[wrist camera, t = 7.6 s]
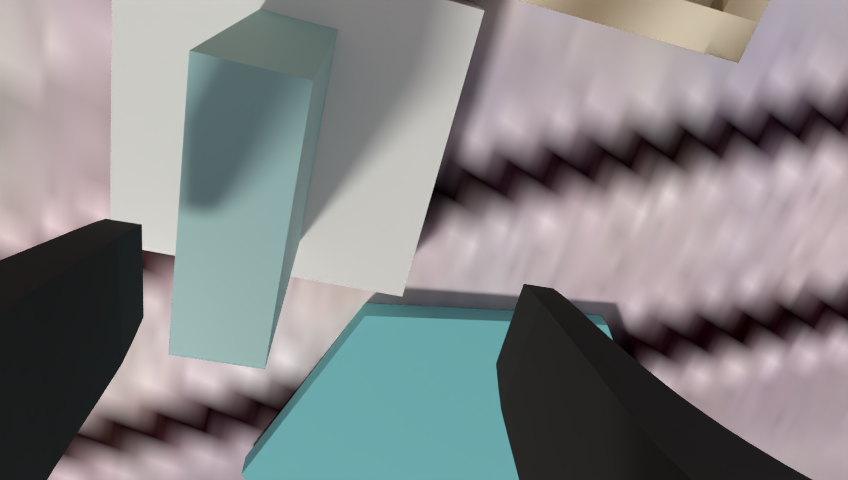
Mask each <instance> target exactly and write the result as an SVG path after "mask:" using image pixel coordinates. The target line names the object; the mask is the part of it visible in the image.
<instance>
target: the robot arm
mask: <svg viewBox="0 0 848 480" xmlns="http://www.w3.org/2000/svg"><path fill="white" fill-rule="evenodd" d="M142 319H143V262H142V224H136V223H129V222H123V221H116V220H110V219H104V220H101V221H97V222H94V223H92V224H89V225H86V226H84V227H81V228H79V229H76V230H73V231H71V232H69V233H66V234H64V235H61V236H59V237H56V238H54V239H52V240H49V241H47V242H44V243H42V244H39V245H37V246H35V247H32V248H30V249H27V250H25V251H22V252H20V253H17V254H15V255H12V256H10V257H8V258H5V259H3V260H0V480H47V479H48V477H49V476H50V474H51V472H52V471H53V469H54V467H55V466H56V464H57V463H58V461H59V460H60V458H61V457H62V455H63V454H64V452H65V451H66V449H67V448H68V446H69V445H70V443H71V441H72V440H73V438H74V437H75V435H76V434H77V432H78V431H79V429H80V428H81V426H82V425H83V423H84V422H85V420H86V419H87V417H88V415H89V414H90V412H91V411H92V409H93V408H94V406H95V405H96V403H97V402H98V400H99V399H100V397H101V396H102V394H103V392H104V391H105V389H106V388H107V386H108V385H109V383H110V382H111V380H112V378H113V377H114V375H115V374H116V372H117V371H118V369H119V367H120V366H121V364H122V362H123V360H124V358H125V356H126V354H127V352H128V350H129V348H130V346H131V344H132V342H133V339H134V337H135V335H136V333H137V330H138V328H139V326H140V324H141V321H142ZM496 369H497V380H498V390H499V397H500V405H501V411H502V415H503V419H504V423H505V427H506V431H507V435H508V439H509V443H510V447H511V451H512V455H513V458H514V462H515V466H516V470H517V474H518V477H519V480H812V479H810V478H808V477H806V476H805V475H803V474H801V473H799V472H797V471H796V470H794V469H792V468H790V467H788V466H787V465H785V464H783V463H781V462H780V461H778V460H777V459H775V458H773V457H772V456H770V455H768V454H767V453H765V452H763V451H762V450H760V449H758V448H757V447H755V446H753V445H752V444H750V443H748V442H747V441H745V440H743V439H742V438H740V437H739V436H737V435H736V434H734V433H733V432H731V431H729V430H728V429H726V428H725V427H723V426H722V425H720V424H719V423H718V422H716V421H715V420H713V419H712V418H710V417H709V416H708V415H706V414H705V413H703V412H702V411H700V410H699V409H698V408H696V407H695V406H693V405H692V404H690V403H689V402H688V401H686V400H685V399H684V398H682V397H681V396H680V395H678V394H677V393H676V392H674V391H673V390H672V389H670V388H669V387H668V386H667V385H665V384H664V383H663V382H662V381H660V380H659V379H658V378H657V377H655V376H654V375H653V374H652V373H650V372H649V371H648V370H647V369H645V368H644V367H643V366H642V365H641V364H639V363H638V362H637V361H636V360H635V359H634V358H632V357H631V356H630V355H629V354H628V353H627V352H625V351H624V350H623V349H622V348H621V347H620V346H619V345H617V344H616V343H615V342H614V341H613V340H612V339H611V338H610V337H609V336H607V335H606V334H605V333H604V332H603V331H602V330H601V329H600V328H599V327H597V326H596V325H595V324H594V323H593V322H592V321H591V320H590V319H589V318H588V317H586V316H585V315H584V314H583V313H582V312H581V311H580V310H579V309H578V308H576V307H575V306H574V305H573V304H572V303H571V302H570V301H568V300H567V299H566V298H565V297H564V296H562V295H561V294H560V293H559V292H557V291H556V290H554V289H553V288H546V287H540V286H534V285H527V284H524V285H523V288H522V291H521V294H520V297H519V299H518V302H517V305H516V308H515V311H514V314H513V317H512V319H511V322H510V325H509V328H508V331H507V334H506V337H505V339H504V342H503V345H502V348H501V351H500V354H499V356H498V359H497V362H496Z"/></svg>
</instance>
